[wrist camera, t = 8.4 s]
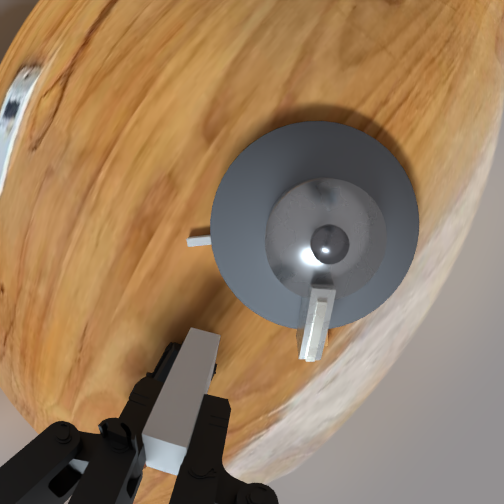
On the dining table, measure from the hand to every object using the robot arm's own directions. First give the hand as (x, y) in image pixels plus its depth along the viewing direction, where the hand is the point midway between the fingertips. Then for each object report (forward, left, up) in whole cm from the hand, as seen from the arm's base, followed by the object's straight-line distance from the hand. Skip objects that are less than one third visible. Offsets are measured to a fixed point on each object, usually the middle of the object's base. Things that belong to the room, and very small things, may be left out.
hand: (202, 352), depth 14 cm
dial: (-2, +7, -13) cm, 15 cm away
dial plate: (-4, +6, -15) cm, 17 cm away
